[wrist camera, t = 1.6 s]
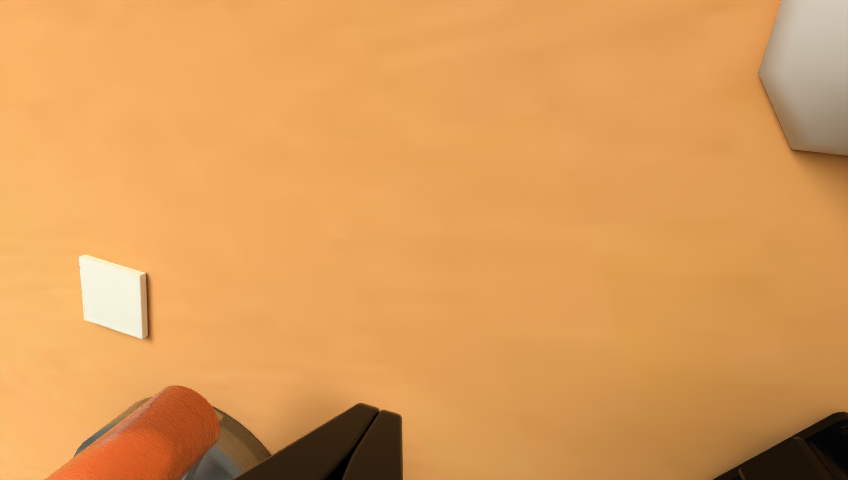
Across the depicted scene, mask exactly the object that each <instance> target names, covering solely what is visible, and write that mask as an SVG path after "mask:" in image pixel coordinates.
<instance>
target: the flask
mask: <svg viewBox="0 0 848 480" xmlns="http://www.w3.org/2000/svg"><path fill="white" fill-rule="evenodd" d="M758 74H759V76H760V78H761V81H762V83H763V85H764V88H765V90H766V92H767V95H768V97H769V99H770V101H771V104H772V106H773V108H774V111H775V113H776V115H777V118H778V120H779V122H780V124H781V127H782V129H783V131H784V134H785V136H786V138H787V141H788V143H789V145H790V147H791V149H795V150H803V151H811V152H820V153H828V154H836V155H844V156H848V0H782V1H781V4H780V7H779V10H778V13H777V16H776V19H775V22H774V26H773V29H772V32H771V35H770V38H769V41H768V44H767V47H766V50H765V53H764V57H763V60H762V63H761V66H760V69H759V72H758Z"/></svg>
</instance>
